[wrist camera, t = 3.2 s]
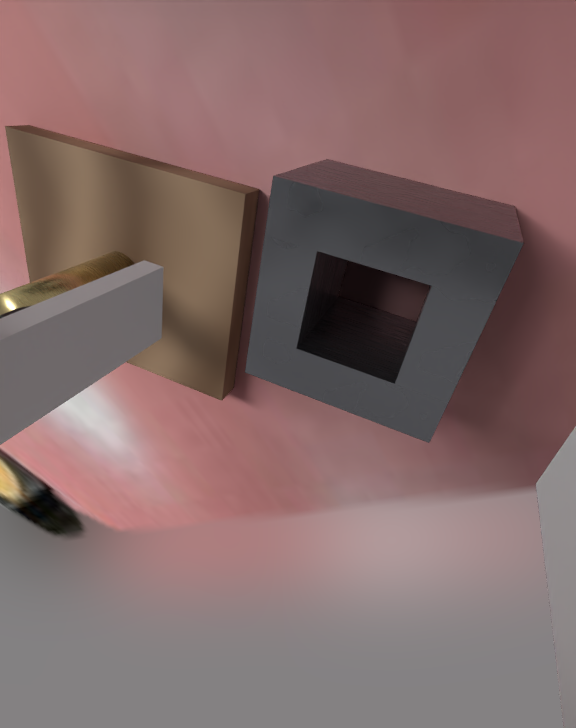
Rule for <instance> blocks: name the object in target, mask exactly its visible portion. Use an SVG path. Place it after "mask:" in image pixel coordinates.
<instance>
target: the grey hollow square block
mask: <svg viewBox="0 0 576 728" xmlns="http://www.w3.org/2000/svg"><path fill="white" fill-rule="evenodd" d="M523 244H524V242H523V238H522V233H521V229H520V225H519V221H518V217H517V213H516V209H515V206H511V205H507V204H503V203H499V202H495V201H491V200H487V199H484V198H480V197H476V196H472V195H468V194H464V193H460V192H456V191H452V190H448V189H444V188H440V187H436V186H432V185H428V184H424V183H420V182H416V181H412V180H408V179H404V178H400V177H396V176H392V175H388V174H384V173H380V172H376V171H372V170H368V169H364V168H360V167H356V166H352V165H348V164H344V163H340V162H337V161H333V160H329V159H326V160H323V161H320V162H316V163H313V164H310V165H307V166H304V167H300V168H297V169H294V170H291V171H287V172H284V173H281V174H278V175H274V176H273V181H272V188H271V195H270V202H269V209H268V216H267V223H266V230H265V237H264V244H263V251H262V258H261V265H260V272H259V279H258V285H257V292H256V299H255V306H254V313H253V320H252V327H251V334H250V341H249V348H248V355H247V362H246V369H245V373H248V374H251V375H253V376H256V377H258V378H261V379H264V380H266V381H269V382H271V383H274V384H277V385H279V386H282V387H285V388H287V389H290V390H292V391H295V392H298V393H300V394H303V395H305V396H308V397H311V398H313V399H316V400H319V401H321V402H324V403H326V404H329V405H332V406H334V407H337V408H339V409H342V410H345V411H347V412H350V413H352V414H355V415H358V416H360V417H363V418H366V419H368V420H371V421H373V422H376V423H379V424H381V425H384V426H386V427H389V428H392V429H394V430H397V431H400V432H402V433H405V434H407V435H410V436H413V437H415V438H418V439H420V440H423V441H426V442H428V443H429V442H430V440H431V438H432V436H433V434H434V432H435V430H436V428H437V425H438V423H439V421H440V419H441V417H442V415H443V413H444V411H445V409H446V406H447V404H448V402H449V400H450V398H451V396H452V394H453V392H454V390H455V387H456V385H457V383H458V381H459V379H460V377H461V375H462V373H463V371H464V368H465V366H466V364H467V362H468V360H469V358H470V356H471V354H472V352H473V349H474V347H475V345H476V343H477V341H478V339H479V337H480V335H481V333H482V330H483V328H484V326H485V324H486V322H487V320H488V318H489V316H490V314H491V311H492V309H493V307H494V305H495V303H496V301H497V299H498V297H499V295H500V292H501V290H502V288H503V286H504V284H505V282H506V280H507V278H508V276H509V273H510V271H511V269H512V267H513V265H514V263H515V261H516V259H517V257H518V254H519V252H520V250H521V248H522V246H523ZM347 261H352V262H355V263H358V264H362V265H365V266H368V267H372V268H375V269H378V270H381V271H385V272H388V273H391V274H395V275H398V276H401V277H405V278H408V279H411V280H415V281H418V282H421V283H424V284H428V285H430V287H429V290H428V292H427V295H426V298H425V300H424V303H423V306H422V308H421V311H420V314H419V316H418V319H417V322H415V321H412V320H409V319H406V318H403V317H400V316H397V315H394V314H391V313H388V312H385V311H381V310H378V309H375V308H372V307H369V306H366V305H363V304H360V303H357V302H354V301H350V300H347V299H344V298H341V297H338V296H339V293H340V289H341V285H342V281H343V277H344V273H345V269H346V265H347Z"/></svg>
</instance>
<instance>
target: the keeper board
mask: <svg viewBox="0 0 576 728" xmlns="http://www.w3.org/2000/svg"><path fill="white" fill-rule="evenodd" d="M5 129H6V135H7V141H8V148H9V154H10V160H11V166H12V173H13V179H14V185H15V191H16V198H17V204H18V210H19V216H20V223H21V229H22V235H23V241H24V248H25V254H26V260H27V266H28V273H29V279H30V283H31V282H33V281H36V280H39V279H41V278H44V277H47V276H49V275H52V274H55V273H57V272H60V271H63V270H65V269H68V268H70V267H73V266H76V265H78V264H81V263H84V262H86V261H89V260H92V259H94V258H97V257H100V256H102V255H105V254H107V253H110V252H115V251H116V252H121V253H123V254H125V255H126V256H127V257H129V258H130V259H131V260H132V262H133V263H134V264H136V263H139V262H141V261H144V260H145V261H148V262H151V263H154V264H156V265H159V266H162V267H164V268H163V305H162V338H161V339H160V340H158V341H157V342H155V343H154V344H152V345H151V346H149V347H148V348H146V349H145V350H143V351H142V352H140V353H139V354H137V355H135V356H134V357H132V358H131V359H129V360H128V361H126V362H127V363H130V364H132V365H135V366H137V367H140V368H142V369H145V370H147V371H150V372H152V373H155V374H157V375H160V376H162V377H165V378H167V379H170V380H172V381H175V382H177V383H180V384H182V385H184V386H187V387H189V388H192V389H194V390H197V391H199V392H202V393H204V394H207V395H209V396H212V397H214V398H217V399H219V400H223V399H224V398H225V397H226V396H227V395H228V393H229V392H230V391H231V390H232V389H233V388H234V381H235V373H236V366H237V358H238V350H239V343H240V335H241V327H242V319H243V312H244V304H245V296H246V289H247V281H248V273H249V265H250V258H251V250H252V242H253V235H254V227H255V219H256V211H257V204H258V196H259V189H257V188H253V187H249V186H246V185H242V184H239V183H235V182H231V181H228V180H224V179H221V178H217V177H213V176H210V175H206V174H203V173H199V172H195V171H192V170H188V169H185V168H181V167H177V166H174V165H170V164H167V163H163V162H159V161H156V160H152V159H149V158H145V157H141V156H138V155H134V154H131V153H127V152H123V151H120V150H116V149H113V148H109V147H105V146H102V145H98V144H95V143H91V142H87V141H84V140H80V139H77V138H73V137H69V136H66V135H62V134H59V133H55V132H51V131H48V130H44V129H41V128H37V127H33V126H30V125H24V126H5Z"/></svg>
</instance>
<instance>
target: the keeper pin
mask: <svg viewBox="0 0 576 728" xmlns="http://www.w3.org/2000/svg"><path fill="white" fill-rule="evenodd" d="M131 265H134V263H133V262H132V260H131V259H130V258H129V257H127V256H126V255H125V254H123V253H121V252H116V251H115V252H110V253H107V254H105V255H102V256H100V257H97V258H94V259H92V260H89V261H86V262H84V263H81V264H78V265H76V266H73V267H70V268H68V269H65V270H63V271H60V272H57V273H55V274H52V275H49V276H47V277H44V278H41V279H39V280H36V281H33V282H31V283H28V284H26V285H23V286H20V287H18V288H15V289H12V290H10V291H7V292H4V293H2V294H0V315H2V314H4V313H7V312H9V311H12V310H14V309H17V308H21V307H27V306H32V305H35V304H37V303H40V302H42V301H45V300H47V299H50V298H52V297H55V296H57V295H60V294H62V293H65V292H67V291H70V290H72V289H74V288H77V287H79V286H82V285H84V284H87V283H89V282H92V281H94V280H97V279H99V278H102V277H104V276H107V275H109V274H112V273H114V272H116V271H119V270H121V269H124V268H126V267H129V266H131Z"/></svg>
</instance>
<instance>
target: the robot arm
mask: <svg viewBox="0 0 576 728" xmlns="http://www.w3.org/2000/svg"><path fill="white" fill-rule="evenodd" d="M163 268H164V267H162V266H159V265H156V264H154V263H151V262H148V261H145V260H144V261H141V262H139V263H136V264H134V265H131V266H129V267H126V268H124V269H121V270H119V271H116V272H114V273H112V274H109V275H107V276H104V277H102V278H99V279H97V280H94V281H92V282H89V283H87V284H84V285H82V286H79V287H77V288H74V289H72V290H70V291H67V292H65V293H62V294H60V295H57V296H55V297H52V298H50V299H47V300H45V301H42V302H40V303H37V304H35V305H32V306H27V307H21V308H17V309H14V310H12V311H9V312H7V313H4V314H2V315H0V445H1V444H2V443H4V442H5V441H7V440H8V439H10V438H11V437H13V436H14V435H16V434H17V433H19V432H20V431H22V430H23V429H25V428H27V427H28V426H30V425H31V424H33V423H34V422H36V421H37V420H39V419H40V418H42V417H43V416H45V415H46V414H48V413H49V412H51V411H52V410H54V409H55V408H57V407H58V406H60V405H61V404H63V403H64V402H66V401H67V400H69V399H70V398H72V397H73V396H75V395H76V394H78V393H79V392H81V391H83V390H84V389H86V388H87V387H89V386H90V385H92V384H93V383H95V382H96V381H98V380H99V379H101V378H102V377H104V376H105V375H107V374H108V373H110V372H111V371H113V370H114V369H116V368H117V367H119V366H120V365H122V364H123V363H125V362H126V361H128V360H129V359H131V358H132V357H134V356H135V355H137V354H139V353H140V352H142V351H143V350H145V349H146V348H148V347H149V346H151V345H152V344H154V343H155V342H157V341H158V340H160V339H161V338H162V305H163ZM536 491H537V499H538V508H539V517H540V526H541V534H542V543H543V551H544V561H545V569H546V578H547V587H548V595H549V604H550V612H551V622H552V629H553V639H554V648H555V657H556V665H557V674H558V683H559V691H560V700H561V709H562V718H563V726H564V728H576V426H575V428H574V429H573V431H572V432H571V434H570V435H569V437H568V438H567V439H566V441H565V442H564V444H563V445H562V447H561V448H560V450H559V451H558V452H557V454H556V455H555V457H554V458H553V460H552V461H551V463H550V464H549V465H548V467H547V468H546V470H545V471H544V473H543V474H542V476H541V477H540V479H539V480H538V481H537V483H536Z"/></svg>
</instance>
